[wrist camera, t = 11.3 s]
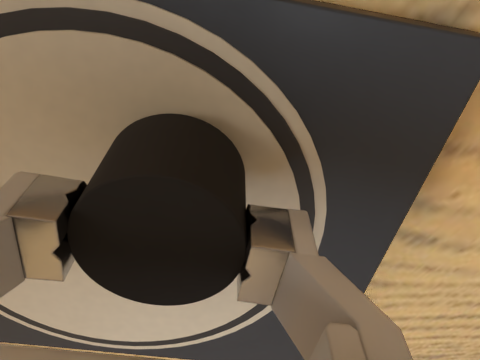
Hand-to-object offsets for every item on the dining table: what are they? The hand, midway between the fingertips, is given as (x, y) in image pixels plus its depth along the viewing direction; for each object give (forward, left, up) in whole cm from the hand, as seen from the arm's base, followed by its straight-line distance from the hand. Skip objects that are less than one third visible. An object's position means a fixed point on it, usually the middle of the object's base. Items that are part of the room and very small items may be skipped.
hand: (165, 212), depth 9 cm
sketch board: (-2, -3, -4) cm, 5 cm away
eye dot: (0, 0, -2) cm, 2 cm away
